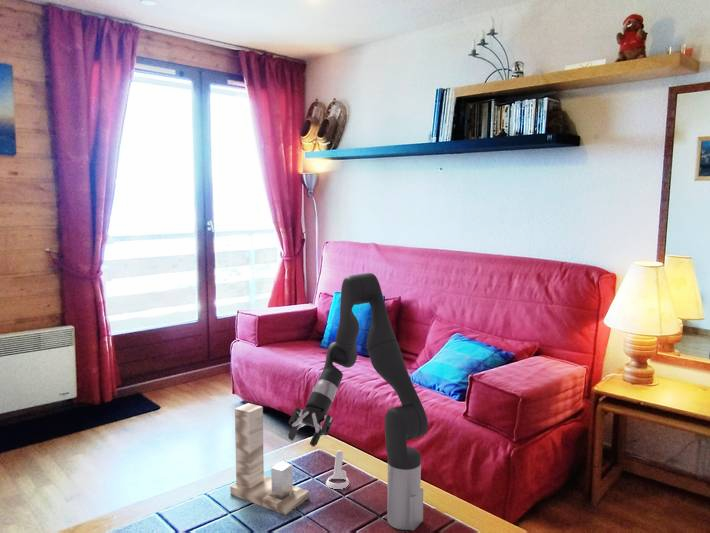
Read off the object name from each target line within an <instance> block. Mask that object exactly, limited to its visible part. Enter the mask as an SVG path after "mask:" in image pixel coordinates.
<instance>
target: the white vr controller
mask: <svg viewBox="0 0 710 533" xmlns="http://www.w3.org/2000/svg"><path fill="white" fill-rule="evenodd" d="M343 457H344V451H343V450H339V449H338V450H336V452H335V460H334V468H333V472H332V475H330V476H329V477H328V478H327V480H326V481H325V486H326V485H327V486H328V487H330V488H333V489H341V490H344V489H343V488H345V489H347V488H348V487H349V486H350V485H349V483H350V480H349V478H348V476H347V471H346V470H344V469H342V468H343V466H342V465H343ZM331 479H333V480H343V479H344V482H341V483H336V482H335V483H334V482H332V480H331ZM329 480H330V481H329ZM348 485H349V486H348ZM327 486H326V487H327ZM347 486H348V487H347ZM328 487H327V488H328ZM346 487H347V488H346ZM330 488H329V489H330ZM333 489H332V490H333Z"/></svg>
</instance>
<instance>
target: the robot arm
mask: <svg viewBox="0 0 710 533" xmlns="http://www.w3.org/2000/svg"><path fill="white" fill-rule="evenodd" d="M340 290H341V291H340V301H339V302H340V304H339V305H340V306H339V323H338V326H337V331H336V334H335V341H333V342H331V343H330V344H329V345H328V346H327V350H326V356H325V363H324V366H323V368H322V369H323V370H322V372H321V374H320V376H319V378H318V380H317V382H316V383H315V385H314V387H313V389H312V391H311V393H310V395H309V397H308V399H307V401H306V404H305V408H303V409H300V407H298V406H296V407H295V409H294V411H293V413H292V415H291V416H290V418H289V420H288V424H289V425H290V426H291V428H290V430H289V433H288V435H287V438H288V439H289V440H290V441H292V442H293V441H294V440H295V437H296V435H297V434H298V430H299V429H300V428H302V427H304V426H308V427H309V426H310V427H312V428H314V429H315V432H314V433H313V435H312V437H311V439H310V442H309V445H310V446H311V447H315V446H317V445H318V443H319V441H320V438H321V437H322V436H328V435H329V432H330V429H331V427H332V424H333V421H334V418H333V417H332V415H330V414H328V413H329V410H330V409H331V407H332V404H333V401H334V399H335V396H336V394H337V392H338V388H339V387H340V384H341V383H342V379H343V376H344V375H343V374H344V373H343V372H342V370H340V369H339V368H337V367H336V366H335V364H337V365H339V366H342V367H344V368H346V369H347V368H348V369H349V368H352V367H353V366H354V365H355V364H356V363H357V362H356V361H357V359H358V352H357V351H358V347H357V340H358V336H359V333H360V324H359V321H358V319H357V317H356V315H355V314H354V312H353V308H354V306H355V305H356V306H357V305H363V304H369V306H370V309H371V324H370V327H369V329H368V330H369V331H368V333H367V337H366V345H365V346H366V350H367V353H368V356H369V359H370V362H371V366H372V367H373V369H374V370H375V371H376V373H377V374H378V375H379V376H380V377H381V379H383V380H384V381H385V382H387V384H389V386H391V388H392V389H393V390H394V391H395V393H396V395H397V397H398V399H399V401H400V404H401V405H399V406H394V407H391V408H389V409H388V410H387V411H386V414H385V417H384V438H385V451H386V457H387V501H386V502H387V505H386V506H387V507H386V508H387V510H386V511H387V512H386V513H387V514H386V516H387V523H388V525H389V526H391V527H392V528H393V529H396V530H403V531H415V530H416V529H417V528H418V527H419V526H420V525H421V524H422V522H423V521H424V488H421V487H422V486H421V484H422V483H421V472H422V467H421V466H422V455H421V452H420V451H419V450H418V449H416V448H414V447H411V446H407V445H408V444H407V441H409V440H413V439H417V438H420V437H423V436H425V435H426V434H427V432H428V431H429V430H428V428H429V421H428V417H427V414H426V411H425V408H424V406H423V402H422V401H421V399H420V397H419V395H418V393H417V391H416V388H415V386H414V383H413V382H412V379H411V377H410V374H409V372H408V369H407V366H406V362H405V361H404V360H405V359H404V358H403V354H402V350H401V348H400V344H399V343H398V340H397V338H396V335H395V332H394V329H393V327H392V324H391V320H390V318H389V315H388V311H387V307H386V303H385V300H384V296H383V291H382V288H381V285H380V282H379V279H378V278H377V276H376V275H375V274H374V273H372V272H366V273H359V274H352V275H348V276H345V277H344V278H343V280H342V283H341V289H340ZM334 363H335V364H334ZM322 422H324V423H323V425H322Z"/></svg>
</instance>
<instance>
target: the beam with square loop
mask: <svg viewBox="0 0 710 533" xmlns="http://www.w3.org/2000/svg"><path fill="white" fill-rule="evenodd" d="M263 411H264V407H263V406H261V405H257V404H254V403H249V402H247V403H245V404H243V405H240V406H238V407H235V408H234V428H235V429H234V431H235V432H234V434H235V441H234V442H235V479H236V480H235V484H233V485H231V486H229V487H230V495H232V496H234V497H237V498H239V499H242V500H244V501H247V502H250V503H252V504H255V505H258V506H260V507H263V508H265V509H269V510H271V511H273V512H276V513H279V514H281V515H284V516H287V515H288V514H290V513H291V512H293V511H294V510H295V509H296V507H297V506H298V507H299V505H300V504H301V503H302V504H304V503H305V502H306V501H305V500H307V499H308V498H309V499H310V490H307V489H304V488H302V487H298V486H297V485H296V486H295V485H293V493H292V494H291V495H289V496H288V497H286V498H285V499H283V500H280V499H277V498H274V497H272V477H269V476H266V475H265V474H264V470H265V468H264V463H265V462H264V412H263ZM309 499H308V500H309ZM308 500H307V501H308ZM304 501H305V502H304ZM303 502H304V503H303ZM302 504H301V505H302ZM301 505H300V506H301ZM298 507H297V508H298ZM293 509H294V510H293ZM289 512H290V513H289Z"/></svg>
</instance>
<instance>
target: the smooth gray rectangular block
mask: <svg viewBox="0 0 710 533" xmlns="http://www.w3.org/2000/svg"><path fill="white" fill-rule="evenodd" d="M270 470H271V473H270V474H271V478H272V497H274V498H277V499H280V500H283V499H285V498H286V497H288V496H289V495H291V494H292V493H293V486H294V485H293V484H294V483H293V482H294V481H293V477H294V476H293V473H294V471H293V463H288V462H285V461H282V460H281V461H280V462H278V463H276V464H275V465H274V466H271V468H270Z"/></svg>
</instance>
